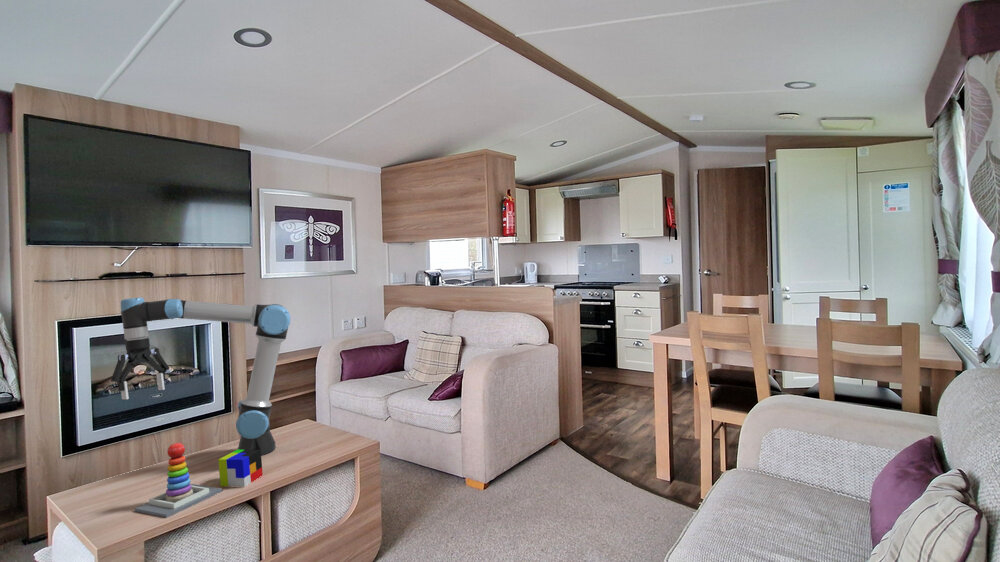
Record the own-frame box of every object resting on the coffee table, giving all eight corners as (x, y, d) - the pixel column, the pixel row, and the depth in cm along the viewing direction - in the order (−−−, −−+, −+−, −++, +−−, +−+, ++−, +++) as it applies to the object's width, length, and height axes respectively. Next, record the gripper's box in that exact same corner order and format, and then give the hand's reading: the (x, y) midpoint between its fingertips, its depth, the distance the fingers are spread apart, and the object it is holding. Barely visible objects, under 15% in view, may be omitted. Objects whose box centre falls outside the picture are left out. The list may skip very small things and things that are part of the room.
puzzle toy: (244, 487, 187) (242, 459, 187) (220, 486, 189) (218, 459, 189) (262, 475, 197) (260, 449, 197) (239, 475, 199) (237, 449, 199)
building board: (191, 486, 191) (191, 479, 191) (222, 491, 184) (221, 484, 184) (134, 511, 172) (134, 503, 172) (166, 517, 166) (166, 509, 166)
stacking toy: (198, 494, 180) (194, 440, 180) (175, 504, 173) (171, 448, 173) (183, 491, 184) (179, 439, 183) (160, 501, 177) (156, 446, 176)
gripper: (162, 334, 210) (169, 386, 211) (94, 345, 187) (102, 403, 188) (175, 333, 207) (181, 385, 208) (107, 344, 184) (115, 403, 185)
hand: (144, 394), depth 198 cm, fingers open, 13 cm apart
